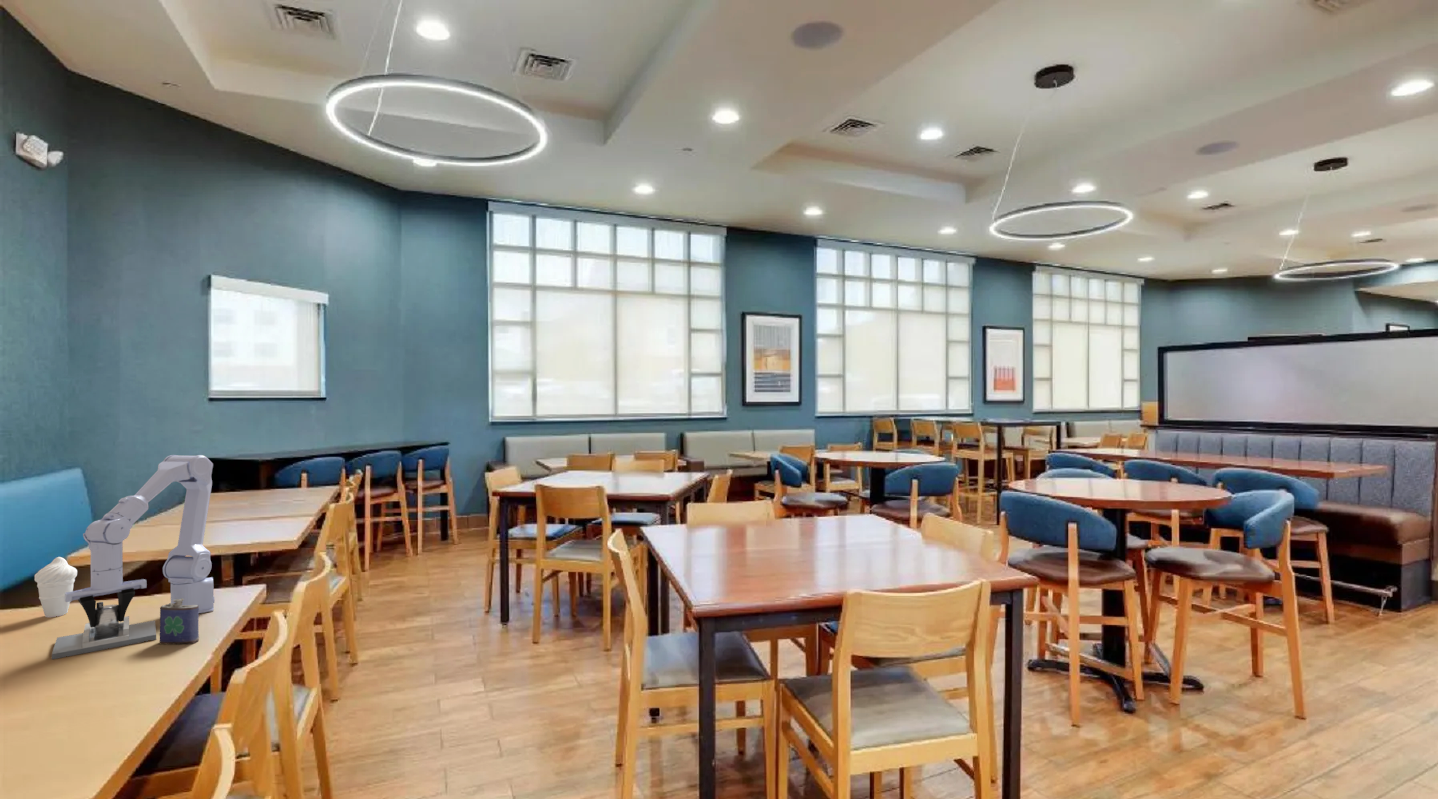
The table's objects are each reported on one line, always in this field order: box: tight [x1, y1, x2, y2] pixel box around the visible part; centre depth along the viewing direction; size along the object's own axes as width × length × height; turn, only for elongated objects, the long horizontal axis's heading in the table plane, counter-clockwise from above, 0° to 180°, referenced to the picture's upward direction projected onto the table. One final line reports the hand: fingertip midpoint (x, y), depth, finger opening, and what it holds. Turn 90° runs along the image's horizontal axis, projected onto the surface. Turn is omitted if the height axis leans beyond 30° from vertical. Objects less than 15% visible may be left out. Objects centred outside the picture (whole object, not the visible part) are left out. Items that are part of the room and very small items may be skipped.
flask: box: [159, 598, 200, 645], centre depth 157 cm, size 9×3×11 cm, turn 88°
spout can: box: [94, 601, 120, 639], centre depth 158 cm, size 4×4×8 cm
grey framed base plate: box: [51, 616, 157, 660], centre depth 158 cm, size 18×14×4 cm
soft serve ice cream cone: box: [34, 556, 78, 618], centre depth 177 cm, size 8×8×16 cm
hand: (106, 623), depth 158 cm, fingers open, 4 cm apart
